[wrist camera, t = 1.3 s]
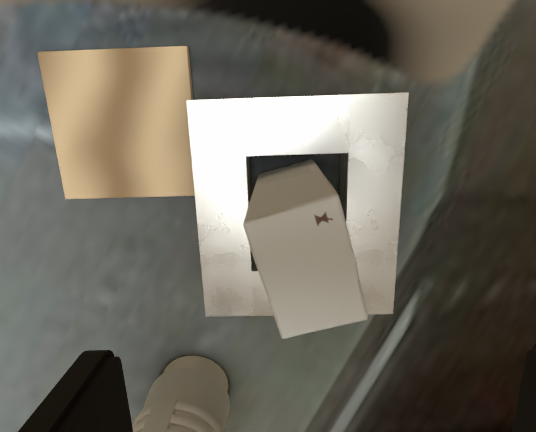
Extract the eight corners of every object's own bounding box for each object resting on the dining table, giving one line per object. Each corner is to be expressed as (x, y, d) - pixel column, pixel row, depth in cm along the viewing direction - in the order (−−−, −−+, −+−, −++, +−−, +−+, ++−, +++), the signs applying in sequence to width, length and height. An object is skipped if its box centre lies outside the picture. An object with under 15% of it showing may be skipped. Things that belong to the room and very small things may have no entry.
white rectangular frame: (392, 95, 24) (408, 92, 21) (381, 293, 28) (392, 313, 25) (197, 102, 25) (186, 100, 22) (212, 296, 29) (205, 316, 26)
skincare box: (256, 173, 26) (238, 218, 14) (312, 157, 25) (341, 190, 14) (279, 248, 27) (280, 343, 16) (332, 233, 27) (374, 321, 15)
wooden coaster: (188, 47, 24) (186, 45, 23) (201, 193, 26) (199, 195, 26) (43, 53, 24) (37, 51, 23) (70, 197, 27) (65, 198, 26)
